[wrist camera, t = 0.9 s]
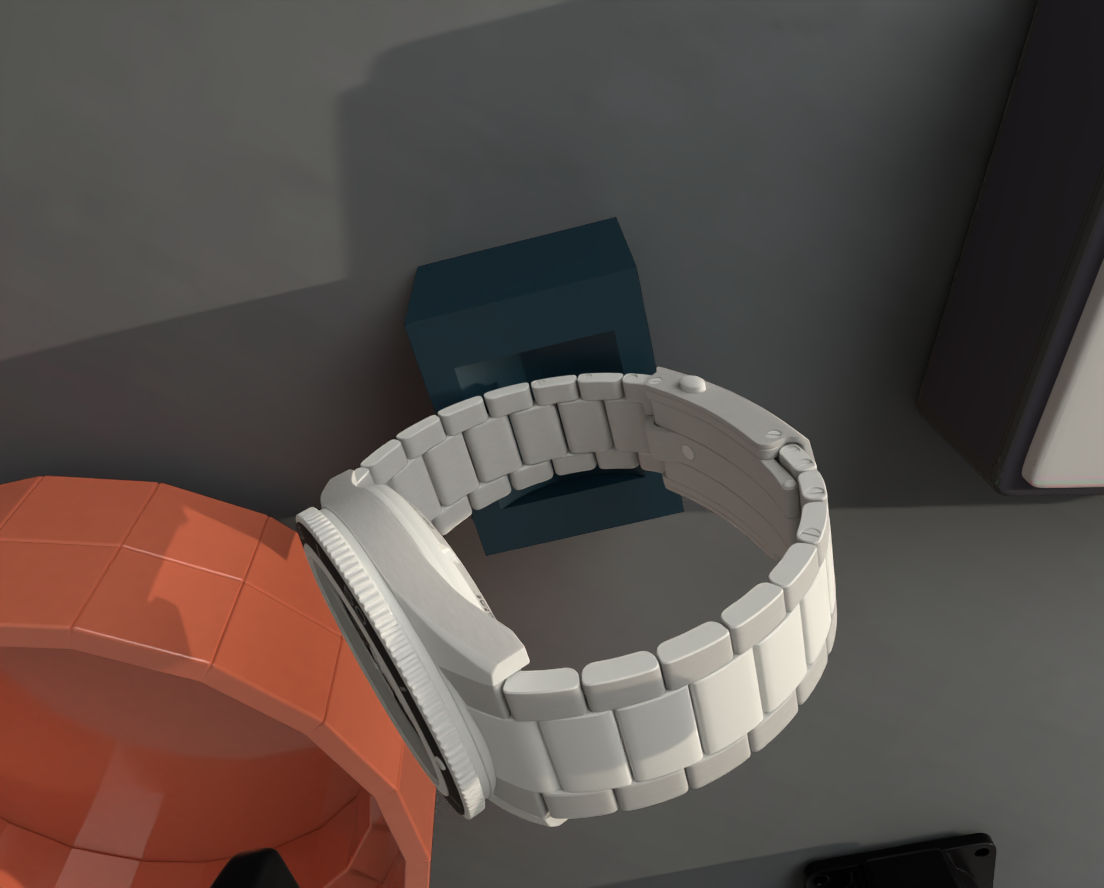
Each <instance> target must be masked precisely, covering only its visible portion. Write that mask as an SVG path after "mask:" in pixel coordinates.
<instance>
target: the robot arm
mask: <svg viewBox="0 0 1104 888" xmlns="http://www.w3.org/2000/svg"><path fill="white" fill-rule="evenodd" d="M995 859H996V847H995V845H994V843H993V841H992V839H991V837H990V836H989V835H988V834H985V833H976V834H970V835H964V836H958V837H953V838H947V839H941V840H936V841H930V842H924V843H918V844H913V845H907V846H901V847H896V848H890V849H884V850H878V851H873V852H867V853H861V854H855V855H850V856H844V857H838V858H833V859H827V860H821V861H816V862H813V863H810V864H809V865H807V866H806V867H805V868H804V871H803V876H804V887H805V888H993V878H994V869H995ZM209 888H300V887H299V885H298V884H297V882H296V880H295V879H294V877H293V875H292V874H291V872H290V870H289V869H288V867H287V865H286V864H285V862H284V860H283V859H282V857H281V855H280V854H279V852H278V851H277V850H276V849H274V848H272V847H266V848H260V849H254V850H248V851H243V852H240V853H237V854H236V855H234V856H233V857H232V858H231V859H230V860H229V861H228V862H227V863H226V865H225V866H224V868H223V869H222V870H221V872H220V873H219V874H218V876H217V877H216V879H215V880H214V881H213V883H212V884H211V886H210V887H209Z"/></svg>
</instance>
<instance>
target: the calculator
mask: <svg viewBox="0 0 1104 888" xmlns="http://www.w3.org/2000/svg"><path fill="white" fill-rule="evenodd" d="M917 410H918V412H919V414H920V415H921V416H922V417H923V418H924V419H925V420H926V421H927V422H928V423H929V424H930V426H931V427H932V428H933V429H934V430H935V431H936V432H937V433H938V434H939V435H940V436H941V437H942V438H943V439H944V440H945V441H946V442H947V443H948V444H949V445H950V446H951V447H952V448H953V449H954V450H955V451H956V452H957V453H958V454H959V455H960V456H961V457H962V458H963V459H964V460H965V461H966V463H967V464H968V465H969V466H970V467H971V468H972V469H973V470H974V471H975V472H976V473H977V474H978V475H979V476H980V477H981V478H982V479H983V480H984V481H985V482H986V483H987V484H988V485H989V486H990V487H991V488H992V489H993V490H994V491H995V492H997V493H998V494H1001V495H1005V496H1039V495H1092V494H1104V0H1038V3H1037V7H1036V10H1035V13H1034V16H1033V20H1032V23H1031V26H1030V30H1029V33H1028V36H1027V39H1026V43H1025V46H1024V49H1023V53H1022V56H1021V59H1020V63H1019V66H1018V69H1017V72H1016V76H1015V79H1014V82H1013V86H1012V89H1011V92H1010V96H1009V99H1008V102H1007V105H1006V109H1005V112H1004V115H1003V119H1002V122H1001V125H1000V128H999V132H998V135H997V138H996V142H995V145H994V148H993V152H992V155H991V158H990V161H989V165H988V168H987V171H986V175H985V178H984V181H983V184H982V188H981V191H980V194H979V198H978V201H977V204H976V208H975V211H974V214H973V217H972V221H971V224H970V227H969V231H968V234H967V237H966V241H965V244H964V247H963V250H962V254H961V257H960V260H959V264H958V267H957V270H956V273H955V277H954V280H953V283H952V287H951V290H950V293H949V297H948V300H947V303H946V306H945V310H944V313H943V316H942V320H941V323H940V326H939V329H938V333H937V336H936V339H935V343H934V346H933V349H932V353H931V356H930V359H929V362H928V366H927V369H926V372H925V376H924V379H923V382H922V386H921V389H920V392H919V396H918V400H917Z"/></svg>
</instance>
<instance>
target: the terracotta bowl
mask: <svg viewBox="0 0 1104 888" xmlns="http://www.w3.org/2000/svg"><path fill="white" fill-rule="evenodd" d="M436 789H437V787H436V786H435V785H434V784H433V782H432V781H431V780H430V778H429V777H428V776H427V774H426V773H425V771H424V770H423V769H422V767H421V766H420V764H419V763H418V762H417V760H416V759H415V757H414V756H413V754H412V753H411V751H410V750H409V748H408V746H407V745H406V743H405V742H404V740H403V739H402V737H401V735H400V734H399V732H398V731H397V729H396V727H395V726H394V724H393V723H392V721H391V719H390V718H389V716H388V714H387V713H386V711H385V709H384V708H383V706H382V704H381V703H380V701H379V699H378V697H377V696H376V694H375V692H374V691H373V689H372V687H371V685H370V684H369V682H368V680H367V678H366V677H365V675H364V673H363V671H362V669H361V668H360V666H359V664H358V662H357V660H356V659H355V657H354V655H353V653H352V651H351V650H350V648H349V646H348V644H347V642H346V640H345V638H344V637H343V635H342V633H341V631H340V629H339V627H338V625H337V623H336V621H335V619H334V617H333V615H332V613H331V611H330V609H329V607H328V605H327V603H326V601H325V599H324V597H323V595H322V593H321V591H320V589H319V587H318V584H317V582H316V580H315V578H314V575H313V573H312V570H311V568H310V565H309V563H308V560H307V558H306V555H305V551H304V549H303V546H302V543H301V541H300V538H299V535H298V533H297V532H296V531H294V530H292V529H291V528H289V527H287V526H286V525H284V524H282V523H281V522H279V521H277V520H276V519H274V518H273V517H268V515H266V514H263V513H259V512H256V511H253V510H250V509H246V508H243V507H240V506H237V505H233V504H230V503H227V502H224V501H220V500H217V499H214V498H211V497H207V496H204V495H201V494H198V493H194V492H191V491H188V490H185V489H181V488H178V487H175V486H172V485H168V484H165V483H158V482H151V481H134V480H116V479H99V478H82V477H65V476H48V475H47V476H44V477H43V476H38V477H33V478H28V479H23V480H19V481H14V482H9V483H5V484H0V888H209V887H210V886H211V884H212V883H213V881H214V880H215V879H216V877H217V876H218V874H219V873H220V872H221V870H222V869H223V868H224V866H225V865H226V863H227V862H228V861H229V860H230V859H231V858H232V857H233V856H234V855H236V854H237V853H240V852H243V851H248V850H254V849H260V848H266V847H272V848H274V849H276V850H277V851H278V852H279V854H280V855H281V857H282V859H283V860H284V862H285V864H286V865H287V867H288V869H289V870H290V872H291V874H292V875H293V877H294V879H295V880H296V882H297V884H298V885H299V887H300V888H430V874H431V860H432V845H433V831H434V817H435V803H436Z"/></svg>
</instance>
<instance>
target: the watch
mask: <svg viewBox="0 0 1104 888" xmlns="http://www.w3.org/2000/svg"><path fill="white" fill-rule="evenodd" d="M404 326H405V328H406V331H407V334H408V337H409V340H410V342H411V345H412V348H413V351H414V354H415V357H416V359H417V362H418V365H419V368H420V371H421V374H422V376H423V379H424V382H425V385H426V388H427V390H428V393H429V396H430V399H431V402H432V405H433V407H434V410H435V413H436V415H432V416H429V417H427V418H425V419H423V420H422V421H420V422H418V423H416V424H414V425H412V426H411V427H409V428H407V429H405V430H404V431H402V432H401V433H399V434H398V435H397V436H396V438H397V440H395V439H393V440H390V441H389V442H387V443H386V444H384V445H383V446H381V447H380V448H379V449H377V450H376V451H375V452H373V453H372V454H371V455H370V456H369V457H367V458H366V459H365V460H364V461H363V462H362V463H361V465H360V466H361V468H357V469H356V470H350V469H349V470H347V471H345V472H343V473H341V474H339V475H337V476H335V477H333V478H332V479H330V480H329V482H328V483H327V485H326V487H325V488H324V490H323V492H322V494H321V498H320V500H321V507H322V509H321V510H317V509H316V508H314V507H310V508H308V509H306V510H304V511H303V512H301V513H299V514H297V515H296V526H297V532H298V535H299V538H300V541H301V543H302V546H303V549H304V551H305V555H306V558H307V560H308V563H309V565H310V568H311V570H312V573H313V575H314V578H315V580H316V582H317V584H318V587H319V589H320V591H321V593H322V595H323V597H324V599H325V601H326V603H327V605H328V607H329V609H330V611H331V613H332V615H333V617H334V619H335V621H336V623H337V625H338V627H339V629H340V631H341V633H342V635H343V637H344V638H345V640H346V642H347V644H348V646H349V648H350V650H351V651H352V653H353V655H354V657H355V659H356V660H357V662H358V664H359V666H360V668H361V669H362V671H363V673H364V675H365V677H366V678H367V680H368V682H369V684H370V685H371V687H372V689H373V691H374V692H375V694H376V696H377V697H378V699H379V701H380V703H381V704H382V706H383V708H384V709H385V711H386V713H387V714H388V716H389V718H390V719H391V721H392V723H393V724H394V726H395V727H396V729H397V731H398V732H399V734H400V735H401V737H402V739H403V740H404V742H405V743H406V745H407V746H408V748H409V750H410V751H411V753H412V754H413V756H414V757H415V759H416V760H417V762H418V763H419V764H420V766H421V767H422V769H423V770H424V771H425V773H426V774H427V776H428V777H429V778H430V780H431V781H432V782H433V784H434V785H435V786H436V787H437V789H438V790H439V791H440V792H441V793H442V794H443V796H444V797H445V798H446V799H447V801H448V802H449V803H450V804H451V806H452V807H453V808H454V809H455V810H456V811H457V812H458V813H459V814H461V815H462V816H463V817H465V818H466V819H468V820H470V819H472V818H473V817H474V816H476V815H477V814H479V813H480V812H481V811H483V810H484V808H485V801H484V800H485V799H486V798H487V799H488V800H490V801H491V802H493V803H495V804H496V805H498V806H499V807H501V808H502V809H504V810H506V811H508V812H510V813H512V814H514V815H516V816H518V817H521V818H523V819H526V820H529V821H531V822H534V823H538V824H541V825H545V826H549V827H554V826H559V825H561V824H562V823H563V822H565V821H566V820H567V819H569V818H583V817H593V816H599V815H605V814H610V813H613V812H615V811H616V810H617V809H618V803H617V797H618V801H619V804H620V807H621V809H622V810H625V811H629V810H634V809H638V808H642V807H646V806H650V805H654V804H657V803H660V802H663V801H666V800H669V799H672V798H674V797H677V796H680V795H682V794H684V793H686V792H687V790H688V783H689V785H690V787H692V788H694V789H697V788H700V787H702V786H704V785H706V784H708V783H710V782H712V781H714V780H716V779H718V778H719V777H721V776H723V775H724V774H726V773H728V772H729V771H731V770H732V769H734V768H735V767H737V766H738V765H740V764H741V763H743V762H744V761H745V760H747V759H748V758H749V757H750V750H751V751H754V752H757V751H759V750H761V749H762V748H763V747H764V746H766V745H767V744H768V743H769V742H770V741H771V740H772V739H773V738H775V737H776V736H777V735H778V734H779V733H780V732H781V731H782V730H783V729H784V728H785V727H786V725H787V724H788V723H789V722H790V721H791V720H792V718H793V717H794V716H795V715H796V713H797V712H798V705H801V704H803V703H804V702H805V701H806V700H807V698H808V697H809V695H810V694H811V692H812V691H813V689H814V688H815V686H816V684H817V683H818V681H819V679H820V677H821V675H822V673H823V671H824V669H825V666H826V664H827V655H828V654H829V653H830V652H831V650H832V647H833V643H834V639H835V633H836V626H837V608H836V594H835V577H834V565H833V553H832V541H831V530H830V518H829V510H828V499H827V491H826V486H825V483H824V480H823V478H822V476H821V474H820V473H819V472H818V471H817V466H816V463H815V459H814V456H813V452H812V449H811V445H810V441H809V440H808V439H807V438H806V437H804V436H803V435H802V434H800V433H799V432H798V431H796V430H795V429H794V428H792V427H791V426H790V425H788V424H787V423H785V422H784V421H782V420H781V419H779V418H778V417H776V416H775V415H773V414H772V413H770V412H768V411H767V410H765V409H763V408H762V407H760V406H758V405H756V404H755V403H753V402H751V401H749V400H747V399H745V398H743V397H741V396H739V395H737V394H735V393H733V392H731V391H728V390H726V389H724V388H722V387H719V386H717V385H714V384H712V383H709V382H706V381H704V380H703V379H702V378H700V377H697V376H689V375H686V374H683V373H680V372H676V371H673V370H669V369H666V368H662V367H657V368H656V365H655V360H654V355H653V349H652V344H651V339H650V334H649V329H648V324H647V318H646V313H645V308H644V303H643V298H642V293H641V287H640V282H639V277H638V272H637V267H636V265H635V262H634V260H633V257H632V255H631V252H630V250H629V248H628V245H627V243H626V240H625V238H624V235H623V233H622V230H621V228H620V225H619V223H618V221H617V218H616V217H615V218H611V219H607V220H603V221H599V222H595V223H591V224H587V225H583V226H579V227H575V228H571V229H567V230H563V231H559V232H555V233H551V234H547V235H543V236H539V237H535V238H531V239H527V240H523V241H519V242H515V243H511V244H507V245H503V246H499V247H495V248H491V249H487V250H483V251H479V252H475V253H471V254H467V255H463V256H459V257H455V258H451V259H447V260H443V261H439V262H435V263H431V264H427V265H423V266H419V267H418V268H417V273H416V277H415V281H414V285H413V289H412V294H411V298H410V302H409V306H408V310H407V315H406V319H405V323H404ZM681 495H682V496H684V497H686V498H688V499H690V500H692V501H694V502H696V503H698V504H700V505H701V506H703V507H705V508H707V509H709V510H710V511H712V512H714V513H715V514H717V515H719V516H720V517H722V518H723V519H725V520H726V521H728V522H729V523H731V524H732V525H733V526H735V527H736V528H737V529H739V530H740V531H741V532H742V533H743V534H745V535H746V536H747V537H748V538H749V539H751V540H752V541H753V542H754V543H755V544H756V545H757V546H758V547H759V548H761V549H762V550H763V551H764V552H765V553H766V554H767V555H768V556H769V557H770V558H771V559H773V560H776V561H780V562H779V563H778V564H777V565H776V567H775V568H774V569H773V570H772V571H771V572H770V574H769V576H768V579H769V583H760V584H758V585H756V586H755V587H754V588H753V589H752V590H750V591H749V592H748V593H747V594H746V595H744V596H743V597H742V598H740V599H739V600H738V601H736V602H735V603H734V604H732V605H731V606H729V607H728V608H726V609H725V610H724V611H723V612H722V614H721V620H722V625H723V626H722V625H721V624H719V623H717V622H713V621H711V622H706V623H704V624H702V625H700V626H698V627H696V628H694V629H692V630H690V631H688V632H686V633H684V634H682V635H679V636H677V637H674V638H672V639H670V640H667V641H665V642H663V643H661V644H660V645H659V646H658V648H657V657H658V661H659V663H658V661H657V660H656V658H655V656H654V655H653V654H651V653H649V652H647V651H640V652H636V653H632V654H629V655H625V656H621V657H617V658H613V659H608V660H603V661H598V662H593V663H590V664H588V665H587V666H585V668H584V669H583V672H582V684H583V688H584V691H585V694H586V695H584V691H583V688H582V685H581V682H580V679H579V675H578V673H577V672H576V671H575V670H574V669H571V668H560V669H550V670H538V671H521V668H523V667H524V666H526V665H527V664H529V662H530V661H529V658H528V655H527V652H526V649H525V647H524V645H523V644H522V643H521V641H520V640H519V639H518V638H517V636H516V635H515V634H514V632H513V631H512V630H511V629H509V628H508V627H506V626H504V625H503V624H501V623H500V622H498V621H497V620H496V618H495V617H494V615H493V613H492V611H491V609H490V608H489V606H488V604H487V603H486V601H485V599H484V597H483V596H482V594H481V592H480V591H479V589H478V588H477V586H476V584H475V583H474V581H473V580H472V578H471V576H470V575H469V573H468V572H467V570H466V569H465V567H464V566H463V564H462V563H461V561H460V560H459V558H458V557H457V556H456V554H455V553H454V551H453V550H452V549H451V547H450V546H449V545H448V543H447V542H446V541H445V539H444V538H443V537H442V535H445V534H447V533H448V532H449V531H450V530H452V529H453V528H454V527H455V526H457V525H458V524H459V523H461V522H462V521H463V520H465V519H466V518H467V517H469V516H470V515H472V517H473V520H474V523H475V526H476V529H477V532H478V534H479V537H480V540H481V543H482V546H483V549H484V551H485V554H486V556H487V555H492V554H496V553H501V552H505V551H510V550H514V549H519V548H523V547H528V546H532V545H537V544H541V543H546V542H550V541H554V540H559V539H563V538H568V537H572V536H577V535H581V534H586V533H590V532H595V531H599V530H604V529H608V528H613V527H617V526H622V525H626V524H631V523H635V522H640V521H644V520H649V519H653V518H658V517H662V516H667V515H671V514H676V513H680V512H684V510H683V505H682V499H681ZM613 709H614V710H615V713H616V717H617V720H618V724H619V727H620V731H621V734H622V737H623V741H624V744H625V748H626V751H627V755H628V758H629V762H630V764H629V763H628V760H627V756H626V753H625V750H624V746H623V743H622V739H621V736H620V732H619V729H618V725H617V722H616V719H615V715H614V712H613ZM686 778H687V779H686ZM687 781H688V783H687ZM614 788H615V791H616V794H617V797H616V794H615V791H614Z"/></svg>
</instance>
